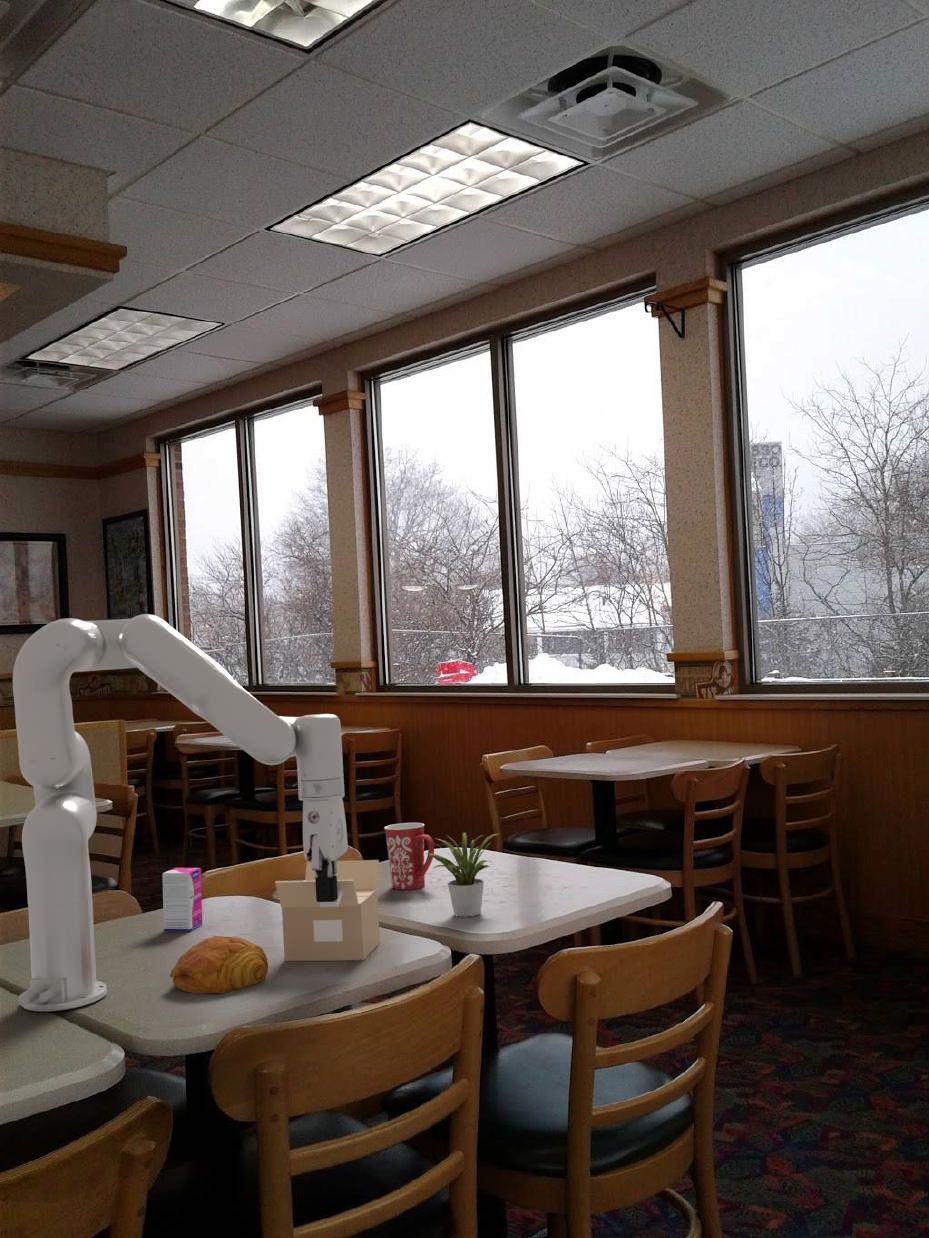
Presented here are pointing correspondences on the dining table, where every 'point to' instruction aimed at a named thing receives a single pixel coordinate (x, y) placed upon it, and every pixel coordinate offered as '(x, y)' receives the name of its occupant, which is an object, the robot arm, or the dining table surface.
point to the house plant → (465, 877)
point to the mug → (408, 854)
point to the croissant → (220, 966)
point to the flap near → (314, 894)
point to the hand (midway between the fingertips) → (327, 900)
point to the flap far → (353, 872)
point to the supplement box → (182, 899)
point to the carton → (332, 930)
